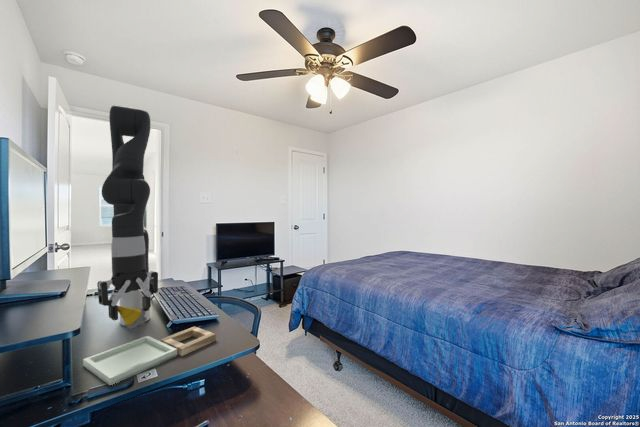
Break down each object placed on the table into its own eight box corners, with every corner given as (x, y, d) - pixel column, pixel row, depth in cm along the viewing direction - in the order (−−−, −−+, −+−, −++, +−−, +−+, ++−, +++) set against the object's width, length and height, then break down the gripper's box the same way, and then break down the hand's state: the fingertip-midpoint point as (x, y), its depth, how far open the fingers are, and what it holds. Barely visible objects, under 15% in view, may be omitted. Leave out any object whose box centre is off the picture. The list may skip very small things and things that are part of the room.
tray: (83, 366, 75) (83, 359, 75) (147, 341, 88) (147, 335, 88) (110, 386, 66) (110, 378, 66) (177, 355, 80) (177, 349, 80)
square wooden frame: (160, 346, 85) (160, 339, 85) (194, 332, 94) (194, 326, 94) (182, 356, 79) (181, 349, 79) (215, 340, 88) (215, 333, 88)
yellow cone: (148, 329, 77) (117, 310, 72) (133, 336, 78) (101, 318, 73) (155, 312, 82) (127, 293, 76) (141, 319, 83) (111, 300, 77)
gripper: (149, 249, 85) (151, 304, 85) (90, 256, 73) (92, 321, 73) (163, 250, 81) (165, 309, 81) (103, 258, 69) (105, 327, 69)
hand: (130, 314), depth 77 cm, fingers closed on yellow cone, 7 cm apart
